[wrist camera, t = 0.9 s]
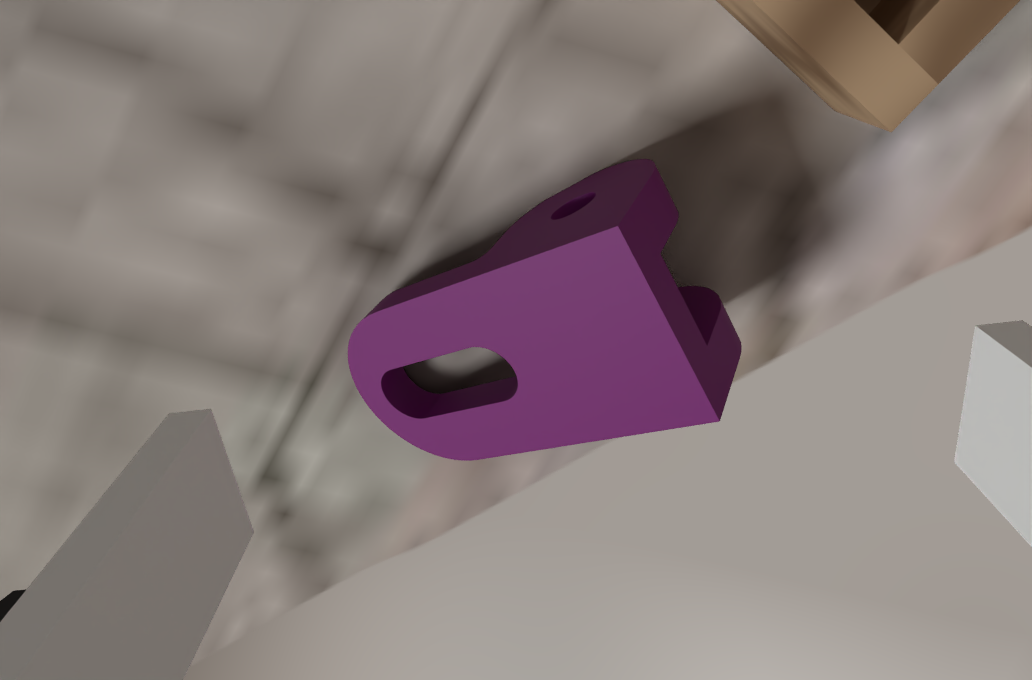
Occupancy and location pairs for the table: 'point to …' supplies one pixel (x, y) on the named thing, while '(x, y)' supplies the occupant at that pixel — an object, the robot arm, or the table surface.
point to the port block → (870, 47)
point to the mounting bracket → (556, 331)
